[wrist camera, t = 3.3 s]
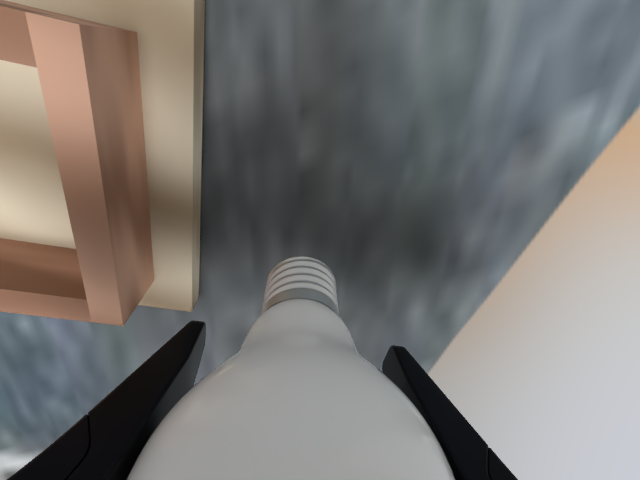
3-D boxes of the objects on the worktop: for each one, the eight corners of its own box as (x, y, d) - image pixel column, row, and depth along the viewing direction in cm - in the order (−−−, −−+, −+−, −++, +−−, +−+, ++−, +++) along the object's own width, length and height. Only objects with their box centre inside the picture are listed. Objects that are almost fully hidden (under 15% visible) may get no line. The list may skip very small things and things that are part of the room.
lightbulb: (243, 335, 15) (120, 859, 5) (202, 213, 11) (-346, 1029, 2) (379, 322, 14) (515, 839, 5) (378, 194, 11) (773, 986, 2)
